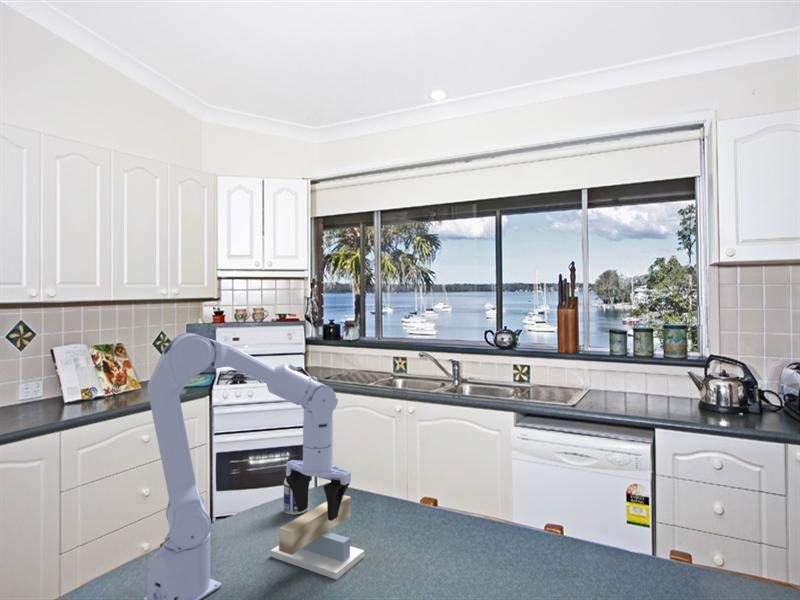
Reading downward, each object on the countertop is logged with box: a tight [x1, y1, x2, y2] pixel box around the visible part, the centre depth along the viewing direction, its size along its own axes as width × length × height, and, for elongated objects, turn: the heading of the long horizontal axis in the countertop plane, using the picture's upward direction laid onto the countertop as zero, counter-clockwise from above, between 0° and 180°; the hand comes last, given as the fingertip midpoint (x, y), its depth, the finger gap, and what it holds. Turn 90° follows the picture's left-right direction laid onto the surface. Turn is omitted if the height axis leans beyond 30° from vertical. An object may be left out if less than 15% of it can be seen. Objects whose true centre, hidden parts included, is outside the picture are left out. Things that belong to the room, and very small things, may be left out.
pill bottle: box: [283, 471, 309, 516], centre depth 114 cm, size 6×6×10 cm
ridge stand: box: [270, 531, 366, 580], centre depth 93 cm, size 9×16×5 cm, turn 61°
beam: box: [278, 494, 352, 555], centre depth 93 cm, size 18×3×4 cm, turn 151°
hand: (317, 514), depth 93 cm, fingers open, 7 cm apart
